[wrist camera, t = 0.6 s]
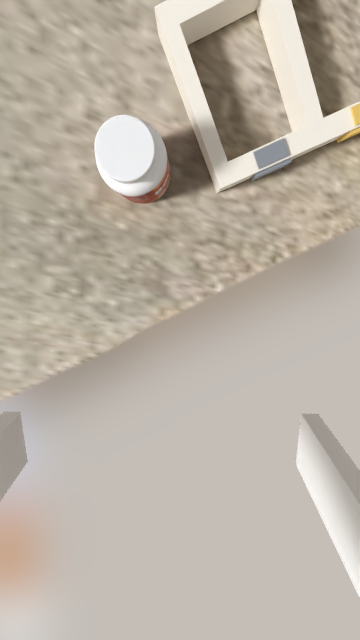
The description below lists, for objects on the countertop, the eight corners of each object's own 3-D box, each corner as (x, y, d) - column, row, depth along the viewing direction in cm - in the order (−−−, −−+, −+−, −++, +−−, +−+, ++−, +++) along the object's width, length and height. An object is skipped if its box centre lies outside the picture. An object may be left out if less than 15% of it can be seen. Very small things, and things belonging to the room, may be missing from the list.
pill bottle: (168, 206, 36) (162, 195, 25) (114, 201, 36) (84, 189, 25) (173, 145, 34) (167, 106, 24) (115, 140, 34) (84, 99, 24)
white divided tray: (158, 34, 32) (154, 4, 28) (362, -73, 29) (392, -123, 25) (218, 196, 36) (222, 192, 31) (402, 114, 33) (433, 97, 29)
